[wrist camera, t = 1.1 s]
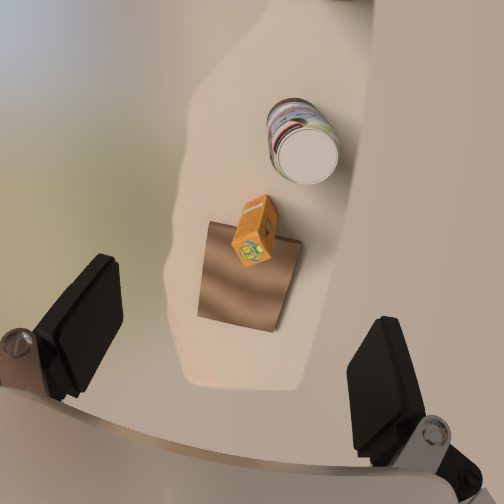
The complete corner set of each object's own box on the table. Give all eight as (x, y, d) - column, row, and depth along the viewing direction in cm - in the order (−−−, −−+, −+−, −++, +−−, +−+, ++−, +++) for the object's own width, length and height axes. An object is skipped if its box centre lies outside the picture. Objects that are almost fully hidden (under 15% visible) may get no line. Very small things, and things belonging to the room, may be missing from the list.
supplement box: (242, 204, 39) (228, 242, 30) (267, 193, 38) (260, 229, 29) (254, 226, 40) (244, 269, 32) (279, 216, 39) (276, 257, 30)
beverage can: (296, 86, 31) (301, 87, 21) (338, 135, 33) (362, 160, 23) (254, 121, 33) (239, 139, 23) (297, 168, 36) (301, 206, 25)
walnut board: (210, 221, 40) (208, 224, 40) (301, 241, 40) (301, 245, 40) (198, 311, 49) (197, 316, 48) (273, 328, 49) (272, 332, 48)
